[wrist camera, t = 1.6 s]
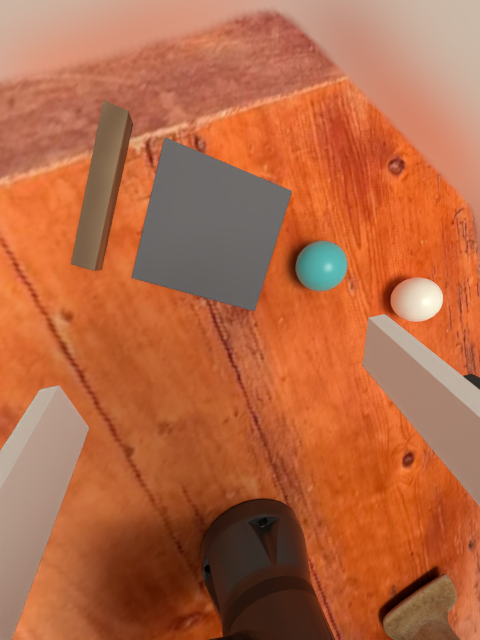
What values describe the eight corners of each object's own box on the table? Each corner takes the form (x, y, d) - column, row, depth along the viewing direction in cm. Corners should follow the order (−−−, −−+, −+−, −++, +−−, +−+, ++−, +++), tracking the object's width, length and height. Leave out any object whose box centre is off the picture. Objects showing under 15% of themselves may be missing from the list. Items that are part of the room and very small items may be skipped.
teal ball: (337, 269, 34) (367, 271, 28) (303, 297, 33) (327, 305, 28) (314, 232, 32) (342, 227, 27) (279, 261, 32) (299, 262, 26)
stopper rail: (132, 124, 26) (128, 111, 23) (101, 269, 28) (94, 270, 25) (110, 115, 25) (103, 100, 23) (79, 263, 27) (70, 264, 25)
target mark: (291, 191, 30) (291, 191, 30) (254, 310, 32) (254, 311, 32) (164, 138, 26) (164, 137, 26) (131, 277, 28) (131, 277, 28)
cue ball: (421, 299, 37) (461, 306, 32) (391, 324, 37) (426, 335, 32) (405, 267, 36) (444, 269, 31) (374, 293, 36) (408, 300, 30)
